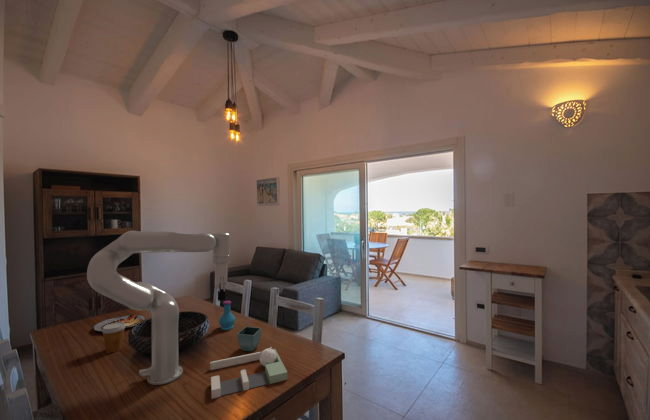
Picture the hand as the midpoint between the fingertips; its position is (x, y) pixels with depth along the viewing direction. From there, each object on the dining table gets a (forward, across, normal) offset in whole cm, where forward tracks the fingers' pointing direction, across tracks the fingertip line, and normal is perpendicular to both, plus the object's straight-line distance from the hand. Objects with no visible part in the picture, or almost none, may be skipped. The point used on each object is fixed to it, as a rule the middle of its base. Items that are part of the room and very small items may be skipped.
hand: (221, 299), depth 129 cm
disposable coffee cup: (+27, -31, -48) cm, 63 cm away
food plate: (+28, -66, -54) cm, 89 cm away
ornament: (+27, +14, +18) cm, 36 cm away
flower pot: (+27, -5, +13) cm, 30 cm away
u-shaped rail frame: (+27, +17, +9) cm, 33 cm away
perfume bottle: (+27, -36, +5) cm, 46 cm away
